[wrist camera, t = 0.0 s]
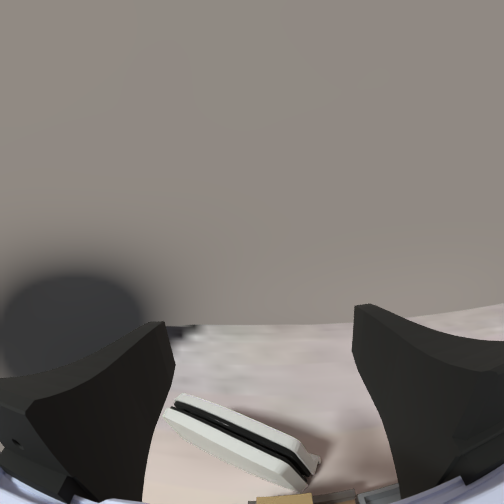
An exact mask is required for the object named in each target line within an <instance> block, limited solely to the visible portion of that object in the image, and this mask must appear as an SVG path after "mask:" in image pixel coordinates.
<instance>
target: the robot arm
mask: <svg viewBox="0 0 504 504" xmlns="http://www.w3.org/2000/svg"><path fill="white" fill-rule="evenodd" d="M354 308H355V309H354V326H353V341H352V353H353V357H354V360H355V363H356V366H357V369H358V372H359V374H360V376H361V378H362V380H363V382H364V384H365V386H366V388H367V390H368V392H369V394H370V396H371V398H372V400H373V402H374V404H375V406H376V408H377V410H378V412H379V415H380V417H381V419H382V422H383V425H384V428H385V431H386V434H387V438H388V441H389V445H390V448H391V452H392V456H393V460H394V464H395V469H396V473H397V478H398V483H399V490H400V496H401V500H399V501H396V502H393V503H390V504H504V341H487V340H477V339H471V338H465V337H459V336H454V335H450V334H447V333H443V332H439V331H436V330H433V329H430V328H427V327H425V326H422V325H419V324H417V323H414V322H412V321H409V320H407V319H405V318H402V317H400V316H398V315H395V314H394V313H391V312H389V311H387V310H385V309H382V308H380V307H378V306H375V305H372V304H364V305H357V306H355V307H354ZM175 365H176V364H175V361H174V357H173V353H172V350H171V346H170V342H169V338H168V334H167V330H166V326H165V322H163V321H162V322H148V323H146V324H144V325H142V326H140V327H138V328H137V329H135V330H133V331H132V332H130V333H128V334H127V335H125V336H123V337H122V338H120V339H118V340H117V341H115V342H113V343H112V344H110V345H108V346H106V347H104V348H103V349H101V350H99V351H97V352H95V353H93V354H91V355H89V356H87V357H85V358H83V359H80V360H78V361H76V362H73V363H71V364H68V365H65V366H62V367H59V368H56V369H52V370H50V371H46V372H41V373H37V374H33V375H27V376H20V377H10V378H0V442H1V443H2V444H3V446H4V447H5V448H4V449H3V451H2V452H0V504H148V503H143V502H142V493H143V485H144V476H145V470H146V464H147V459H148V454H149V449H150V444H151V440H152V436H153V433H154V429H155V426H156V424H157V421H158V419H159V416H160V413H161V411H162V408H163V406H164V403H165V400H166V398H167V395H168V393H169V390H170V387H171V384H172V380H173V375H174V370H175Z"/></svg>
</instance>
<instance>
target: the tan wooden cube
mask: <svg viewBox="0 0 504 504" xmlns="http://www.w3.org/2000/svg"><path fill="white" fill-rule="evenodd" d="M256 504H313V501H312V494H311V493H305V494H297V495H286V496H273V497H257V500H256Z"/></svg>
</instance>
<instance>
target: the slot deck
mask: <svg viewBox="0 0 504 504" xmlns="http://www.w3.org/2000/svg"><path fill="white" fill-rule="evenodd" d="M355 496H356V494H355V491H354V489H351V490H346V491H341V492H336V493H331V494H325V495H318V496H312V501H313V504H356V503H355V500H354V499H355ZM248 504H256V501H248Z"/></svg>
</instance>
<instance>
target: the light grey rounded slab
mask: <svg viewBox="0 0 504 504" xmlns="http://www.w3.org/2000/svg"><path fill="white" fill-rule="evenodd" d="M174 401H175V403H174V405H175V407H176V408H175V407H171V408H167V409H166V411H165V413H164V414H163V416H162V417H163V418H164V419H165V421H166V422H167V423H168V424H169V425H170V426H171V427H172V428H173V429H174V430H175V432H176V433H177V434H178V435H179V436H180V437H181V438H182V439H183V440H185V441H187V442H188V443H190V444H192V445H194V446H195V447H197V448H199V449H201V450H203V451H204V452H206V453H208V454H210V455H212V456H214V457H216V458H218V459H220V460H222V461H224V462H226V463H228V464H230V465H232V466H234V467H236V468H238V469H240V470H242V471H245V472H247V473H249V474H251V475H254V476H256V477H258V478H261V479H263V480H266V481H268V482H271V483H273V484H276V485H278V486H281V487H284V488H286V489H289V490H292V491H295V492H298V493H301V492H303V491H304V490H305V489H306V487H307V486H308V484H307V483H306V482H307V480H306V479H305V478H304V476H303V475H305V476H308V477H309V476H310V475H311V474H312V475H314V474H315V471H316V468H317V464H320V463H321V459H320V456H317V455H314V454H310V453H308V452H307V450H306V449H305V447H304V446H303V444H302V443H301V442H300V441H299V440H297V439H296V438H294V437H292V436H290V435H287V434H285V433H283V432H281V431H278V430H276V429H274V428H272V427H270V426H267V425H265V424H263V423H261V422H258V421H256V420H254V419H251V418H249V417H247V416H244V415H242V414H240V413H238V412H235V411H233V410H230V409H228V408H225V407H223V406H220V405H218V404H215V403H213V402H210V401H207V400H205V399H202V398H199V397H196V396H192V395H189V394H185V393H182V394H181V395H179V396H178V397H177V398H176V399H174Z"/></svg>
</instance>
